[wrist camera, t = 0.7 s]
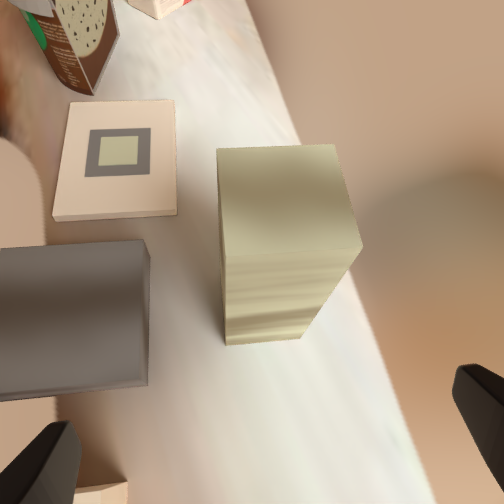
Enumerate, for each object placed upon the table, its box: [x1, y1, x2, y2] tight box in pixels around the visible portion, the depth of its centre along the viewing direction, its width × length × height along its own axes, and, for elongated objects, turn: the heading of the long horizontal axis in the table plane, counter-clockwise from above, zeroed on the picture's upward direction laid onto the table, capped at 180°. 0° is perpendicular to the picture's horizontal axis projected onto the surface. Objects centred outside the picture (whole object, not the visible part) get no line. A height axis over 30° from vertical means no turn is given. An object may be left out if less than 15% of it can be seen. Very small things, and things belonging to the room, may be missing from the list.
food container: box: [8, 0, 120, 96], centre depth 32 cm, size 12×6×10 cm, turn 174°
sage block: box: [216, 144, 363, 346], centre depth 20 cm, size 5×5×13 cm
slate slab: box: [0, 240, 150, 402], centre depth 24 cm, size 9×9×3 cm
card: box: [52, 100, 177, 222], centre depth 31 cm, size 12×9×1 cm
